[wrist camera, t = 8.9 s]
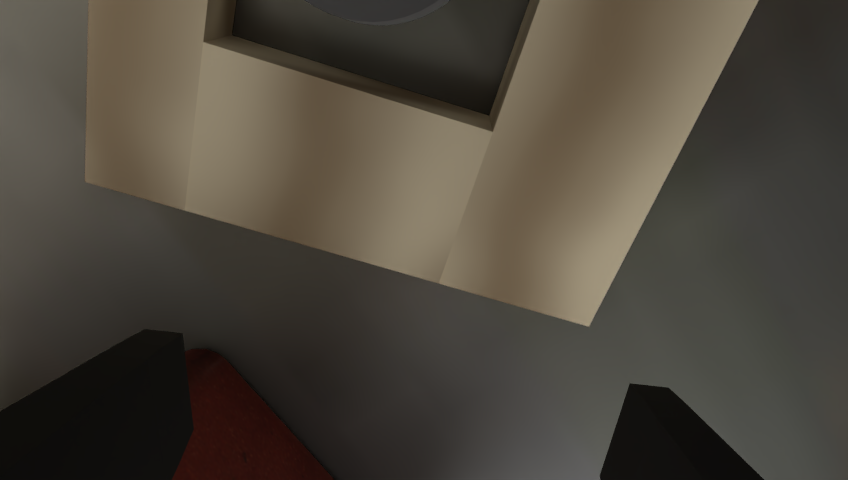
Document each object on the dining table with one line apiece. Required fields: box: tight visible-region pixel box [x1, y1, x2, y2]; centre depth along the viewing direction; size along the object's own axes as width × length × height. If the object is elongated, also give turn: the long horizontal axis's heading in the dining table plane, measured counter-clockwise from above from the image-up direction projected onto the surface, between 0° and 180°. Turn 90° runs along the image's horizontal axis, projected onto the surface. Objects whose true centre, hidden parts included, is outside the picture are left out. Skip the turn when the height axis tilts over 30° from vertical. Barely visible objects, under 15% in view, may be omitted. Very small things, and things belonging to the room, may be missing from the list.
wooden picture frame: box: [85, 0, 759, 327], centre depth 15 cm, size 16×14×2 cm
